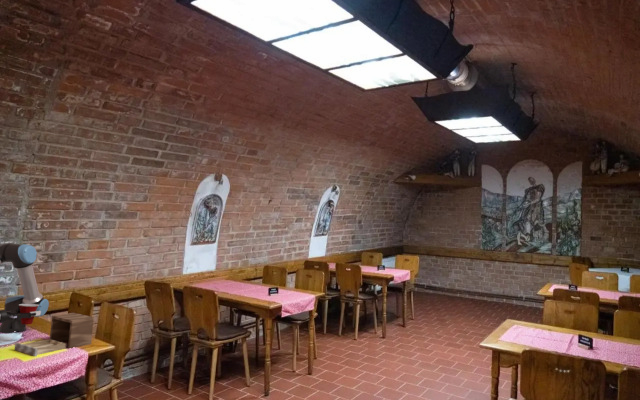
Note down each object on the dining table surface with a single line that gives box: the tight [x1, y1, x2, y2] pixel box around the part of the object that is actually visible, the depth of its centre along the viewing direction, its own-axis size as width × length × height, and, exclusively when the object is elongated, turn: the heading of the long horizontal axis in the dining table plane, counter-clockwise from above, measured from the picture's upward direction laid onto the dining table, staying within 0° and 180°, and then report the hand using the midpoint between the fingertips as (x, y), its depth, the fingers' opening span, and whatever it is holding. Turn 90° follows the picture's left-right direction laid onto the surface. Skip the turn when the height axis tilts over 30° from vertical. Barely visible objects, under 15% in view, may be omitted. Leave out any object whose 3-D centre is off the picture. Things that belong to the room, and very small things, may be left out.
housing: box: [49, 312, 94, 349], centre depth 285 cm, size 20×14×17 cm
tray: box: [14, 338, 67, 357], centre depth 269 cm, size 20×20×4 cm
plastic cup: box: [19, 304, 39, 325], centre depth 283 cm, size 11×11×12 cm
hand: (35, 311), depth 287 cm, fingers closed on plastic cup, 9 cm apart
